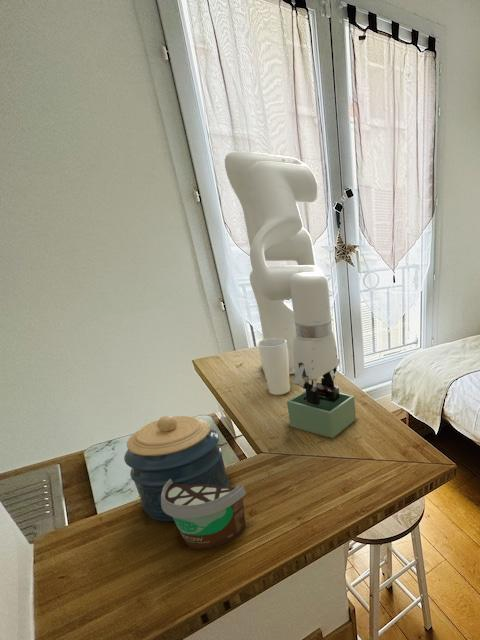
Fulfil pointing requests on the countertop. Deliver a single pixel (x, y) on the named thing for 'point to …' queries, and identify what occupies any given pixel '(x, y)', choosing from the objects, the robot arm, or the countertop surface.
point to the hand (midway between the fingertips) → (321, 397)
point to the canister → (173, 459)
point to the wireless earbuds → (327, 392)
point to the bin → (322, 414)
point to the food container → (205, 512)
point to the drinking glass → (275, 364)
